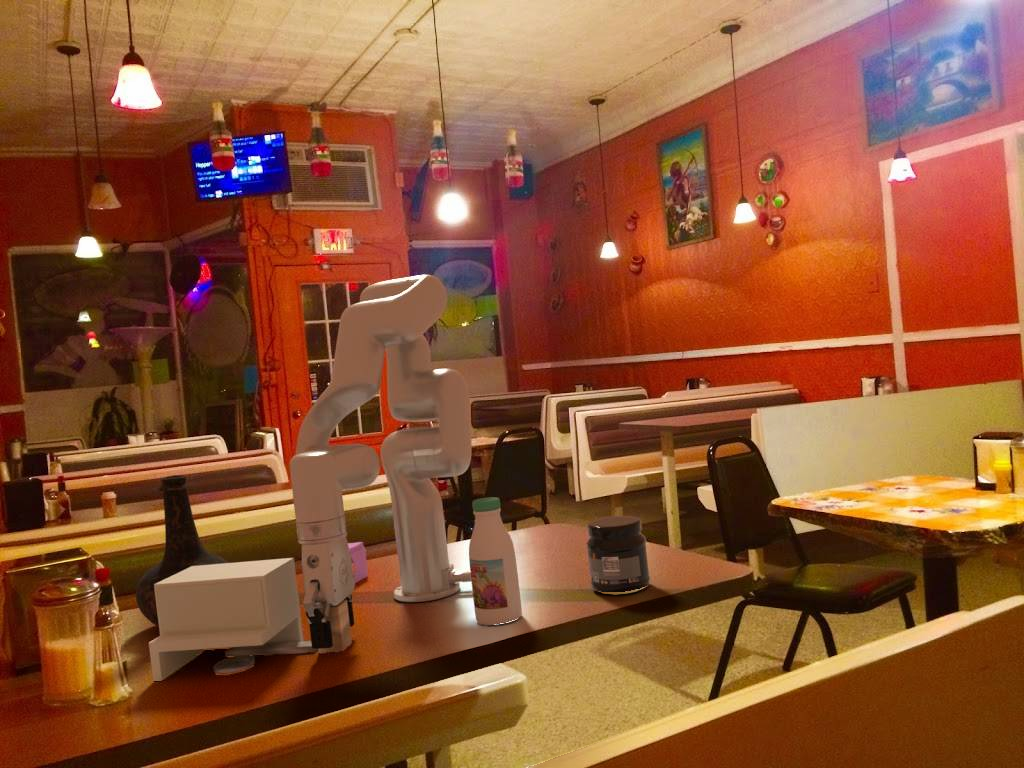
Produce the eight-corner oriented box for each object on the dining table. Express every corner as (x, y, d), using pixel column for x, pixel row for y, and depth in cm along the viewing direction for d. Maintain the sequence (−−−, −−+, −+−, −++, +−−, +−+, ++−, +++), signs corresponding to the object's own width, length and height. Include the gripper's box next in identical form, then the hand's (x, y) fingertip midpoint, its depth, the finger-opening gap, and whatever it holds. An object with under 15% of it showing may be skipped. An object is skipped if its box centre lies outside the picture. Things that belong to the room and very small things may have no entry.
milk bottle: (500, 609, 138) (487, 494, 137) (532, 615, 132) (518, 495, 132) (466, 622, 132) (452, 502, 132) (498, 629, 127) (484, 504, 127)
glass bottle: (229, 602, 164) (212, 466, 164) (251, 619, 149) (234, 470, 149) (134, 625, 155) (116, 481, 154) (148, 646, 139) (128, 486, 139)
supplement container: (635, 576, 149) (628, 512, 149) (661, 589, 139) (653, 521, 139) (582, 586, 146) (575, 521, 146) (604, 601, 136) (597, 530, 136)
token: (262, 661, 125) (261, 654, 125) (244, 676, 120) (243, 668, 120) (226, 663, 126) (225, 656, 126) (206, 678, 120) (205, 671, 120)
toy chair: (353, 585, 166) (344, 514, 166) (316, 586, 169) (308, 516, 169) (372, 574, 174) (364, 506, 174) (336, 575, 177) (329, 508, 177)
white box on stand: (303, 641, 132) (293, 557, 132) (266, 675, 118) (254, 581, 118) (201, 648, 134) (192, 566, 134) (153, 682, 121) (142, 590, 120)
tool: (351, 642, 129) (346, 599, 128) (343, 651, 125) (338, 607, 125) (235, 650, 131) (230, 608, 131) (223, 659, 127) (218, 616, 127)
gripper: (324, 539, 118) (337, 655, 118) (362, 516, 135) (373, 617, 135) (275, 544, 119) (289, 658, 119) (319, 520, 136) (331, 620, 136)
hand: (334, 636), depth 127 cm, fingers open, 9 cm apart
